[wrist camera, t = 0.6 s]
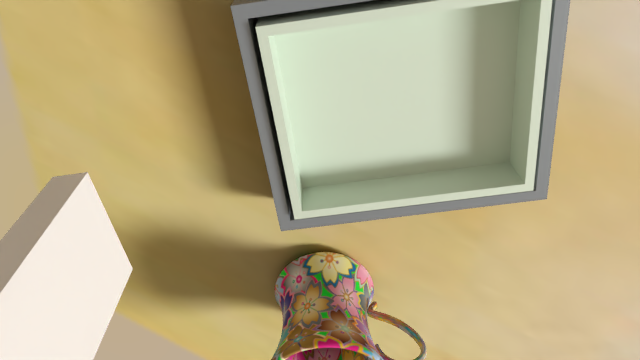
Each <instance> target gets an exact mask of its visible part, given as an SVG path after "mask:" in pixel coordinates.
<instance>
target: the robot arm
mask: <svg viewBox="0 0 640 360" xmlns="http://www.w3.org/2000/svg"><path fill="white" fill-rule="evenodd" d="M132 270H133V268H132V266H131V264H130V262H129V260H128V258H127V255H126V253H125V251H124V249H123V247H122V245H121V243H120V241H119V238H118V236H117V234H116V232H115V230H114V228H113V226H112V223H111V221H110V219H109V217H108V215H107V213H106V211H105V209H104V206H103V204H102V202H101V200H100V198H99V196H98V194H97V192H96V189H95V187H94V185H93V183H92V181H91V179H90V177H89V174H88V172H86V173H79V174H71V175H64V176H57V177H52V179H51V180H50V181H49V182H48V183H47V185H46V186H45V187H44V188H43V189H42V191H41V192H40V193H39V194H38V196H37V197H36V198H35V199H34V200H33V202H32V203H31V204H30V205H29V206H28V208H27V209H26V210H25V211H24V213H23V214H22V215H21V216H20V217H19V219H18V220H17V221H16V222H15V224H14V225H13V226H12V227H11V228H10V230H9V231H8V232H7V233H6V234H5V236H4V237H3V238H2V239H1V241H0V360H93V359H94V356H95V354H96V352H97V350H98V347H99V345H100V343H101V340H102V338H103V336H104V334H105V331H106V329H107V327H108V324H109V322H110V320H111V318H112V315H113V313H114V311H115V308H116V306H117V304H118V302H119V299H120V297H121V295H122V292H123V290H124V288H125V286H126V283H127V281H128V279H129V276H130V274H131V272H132Z"/></svg>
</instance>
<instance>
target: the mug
mask: <svg viewBox="0 0 640 360" xmlns="http://www.w3.org/2000/svg"><path fill="white" fill-rule="evenodd" d="M373 293H374V286H373V281H372V279H371V276H370V274H369V273H368V271H367V270H366V269H365V268H364V267H363V266H362V265H361V264H360V263H359V262H357V261H356V260H354V259H352V258H350V257H348V256H345V255H342V254H338V253H332V252H318V253H312V254H308V255H304V256H302V257H300V258H298V259H296V260H294V261H292V262H291V263H289V264H288V265H287V266H286V267H285V268H284V269H283V270H282V271H281V273H280V274H279V276H278V278H277V281H276V284H275V297H276V301H277V303H278V305H279V307H280V309H281V311H282V315H283V329H282V335H281V339H280V342H279V345H278V347H277V350H276V352H275V354H274V356H273V357H272V359H271V360H394V359H391V358H389V357H388V356H386V355H385V354H384V353H383V352H382V351H381V349H380V347H379V345H378V344H376V345H374V343H373V340H372V338H371V335H370V332H369V328H368V322H367V313H368V316H369V317H371V318H374V319H377V320H380V321H384V322H387V323H389V324H392V325H394V326H396V327H398V328H400V329H401V330H403V331H404V332H406V333H407V334H408V335H410V336H411V337H412V338H413V339H414V340H415V341H416V343H417V344H418V345H419V347H420V349H421V353H420V355H419V356H418V357H417V358H415V359H414V360H425V358H426V346H425V343H424V341H423V339H422V338H421V337H420V335H419V334H418V333H417V332H416V331H415V330H414V329H412V328H411V327H410V326H408V325H407V324H406V323H404V322H402V321H401V320H399V319H397V318H395V317H392V316H390V315H387V314H384V313H381V312H377V311H374V310H376V309H377V303H376V302H373V303H371V301H372V298H373ZM370 303H371V304H370ZM369 305H370V306H369Z"/></svg>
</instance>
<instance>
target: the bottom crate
mask: <svg viewBox="0 0 640 360" xmlns="http://www.w3.org/2000/svg"><path fill="white" fill-rule="evenodd" d="M364 1H371V0H234V1H233V3H232V4H231V6H230V7H231V11H232V15H233V20H234V24H235V29H236V33H237V38H238V42H239V47H240V51H241V56H242V60H243V64H244V69H245V73H246V78H247V82H248V87H249V91H250V96H251V100H252V105H253V109H254V113H255V118H256V122H257V127H258V131H259V136H260V140H261V145H262V149H263V154H264V158H265V162H266V167H267V171H268V176H269V180H270V185H271V189H272V194H273V198H274V203H275V207H276V211H277V216H278V220H279V225H280V229H281V231H286V230H295V229H303V228H311V227H320V226H328V225H336V224H344V223H353V222H361V221H369V220H377V219H386V218H394V217H402V216H411V215H419V214H427V213H435V212H444V211H452V210H460V209H468V208H477V207H485V206H493V205H501V204H510V203H518V202H526V201H535V200H543V199H547V193H548V185H549V176H550V168H551V159H552V151H553V142H554V134H555V125H556V117H557V108H558V100H559V91H560V83H561V75H562V66H563V58H564V49H565V41H566V32H567V24H568V15H569V7H570V0H552V9H551V19H550V29H549V39H548V49H547V59H546V69H545V79H544V89H543V99H542V109H541V119H540V129H539V139H538V149H537V159H536V169H535V179H534V189H533V191H525V192H517V193H509V194H501V195H493V196H484V197H476V198H468V199H460V200H452V201H443V202H435V203H427V204H419V205H411V206H402V207H394V208H386V209H378V210H370V211H361V212H353V213H345V214H337V215H329V216H320V217H312V218H304V219H296V220H295V219H294V214H293V209H292V204H291V200H290V195H289V190H288V185H287V180H286V175H285V170H284V165H283V160H282V155H281V150H280V146H279V141H278V136H277V131H276V126H275V121H274V116H273V111H272V106H271V101H270V96H269V91H268V87H267V82H266V77H265V72H264V67H263V62H262V57H261V52H260V47H259V42H258V37H257V33H256V28H255V27H256V24H257V22H258V19H259V17H262V16H269V15H276V14H283V13H289V12H296V11H303V10H310V9H317V8H323V7H330V6H337V5H344V4H351V3H357V2H364Z"/></svg>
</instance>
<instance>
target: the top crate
mask: <svg viewBox="0 0 640 360" xmlns="http://www.w3.org/2000/svg"><path fill="white" fill-rule="evenodd" d="M551 9H552V0H371V1H364V2H357V3H351V4H344V5H337V6H330V7H323V8H317V9H310V10H303V11H296V12H289V13H283V14H276V15H269V16H262V17H259V19H258V22H257V24H256V27H255V28H256V33H257V37H258V42H259V47H260V52H261V57H262V62H263V67H264V72H265V77H266V82H267V87H268V91H269V96H270V101H271V106H272V111H273V116H274V121H275V126H276V131H277V136H278V141H279V146H280V150H281V155H282V160H283V165H284V170H285V175H286V180H287V185H288V190H289V195H290V200H291V204H292V209H293V214H294V219H295V220H296V219H304V218H312V217H320V216H329V215H337V214H345V213H353V212H361V211H370V210H378V209H386V208H394V207H402V206H411V205H419V204H427V203H435V202H443V201H452V200H460V199H468V198H476V197H484V196H493V195H501V194H509V193H517V192H525V191H533V189H534V179H535V169H536V159H537V149H538V139H539V129H540V119H541V109H542V99H543V89H544V79H545V69H546V59H547V49H548V39H549V29H550V19H551Z"/></svg>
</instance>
